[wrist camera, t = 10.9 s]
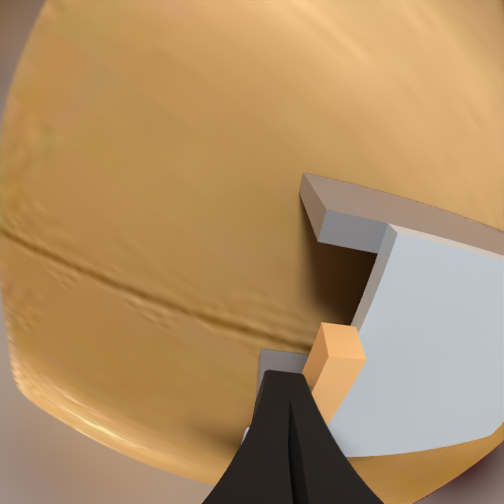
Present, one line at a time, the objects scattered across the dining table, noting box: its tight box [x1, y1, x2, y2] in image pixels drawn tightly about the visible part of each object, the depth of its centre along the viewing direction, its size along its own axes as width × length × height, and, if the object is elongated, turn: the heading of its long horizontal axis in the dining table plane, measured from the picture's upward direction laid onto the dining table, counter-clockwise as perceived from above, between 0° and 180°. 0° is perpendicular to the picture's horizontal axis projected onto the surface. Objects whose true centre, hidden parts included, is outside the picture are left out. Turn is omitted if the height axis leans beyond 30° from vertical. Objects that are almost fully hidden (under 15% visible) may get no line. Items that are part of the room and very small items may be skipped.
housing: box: [256, 173, 504, 423], centre depth 14 cm, size 12×26×6 cm, turn 80°
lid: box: [302, 224, 504, 457], centre depth 10 cm, size 12×16×2 cm
